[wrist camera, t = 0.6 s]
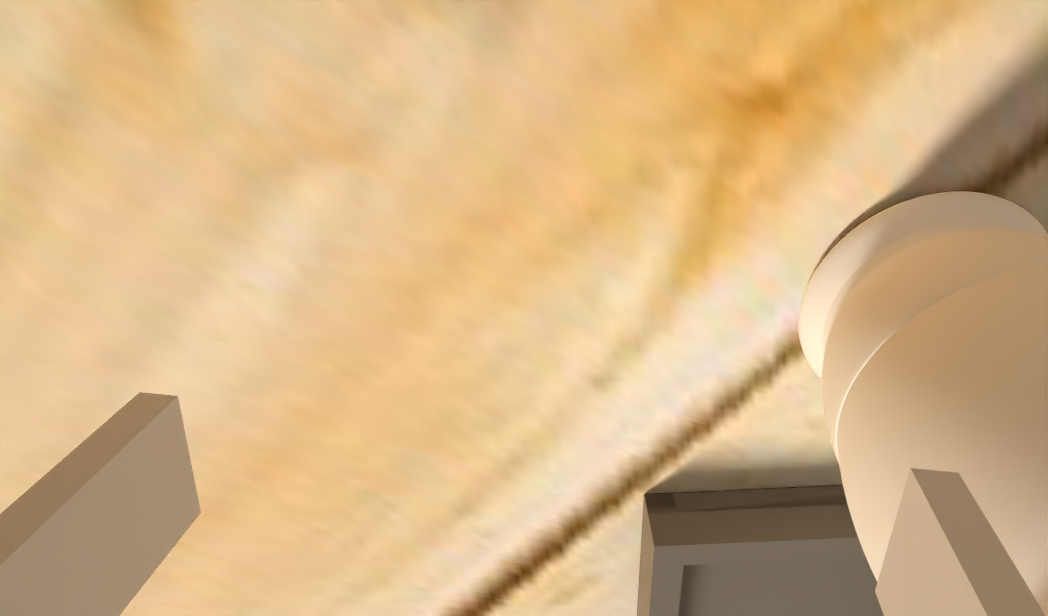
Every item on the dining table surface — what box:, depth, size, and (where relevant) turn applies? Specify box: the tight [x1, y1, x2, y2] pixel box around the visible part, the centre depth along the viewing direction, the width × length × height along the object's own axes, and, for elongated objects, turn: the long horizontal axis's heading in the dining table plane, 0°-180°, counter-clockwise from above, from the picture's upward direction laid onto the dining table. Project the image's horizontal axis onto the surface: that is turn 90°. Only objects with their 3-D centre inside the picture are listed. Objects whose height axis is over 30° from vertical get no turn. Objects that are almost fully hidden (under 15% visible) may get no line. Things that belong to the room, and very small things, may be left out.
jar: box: [798, 191, 1048, 616], centre depth 20 cm, size 11×10×15 cm
